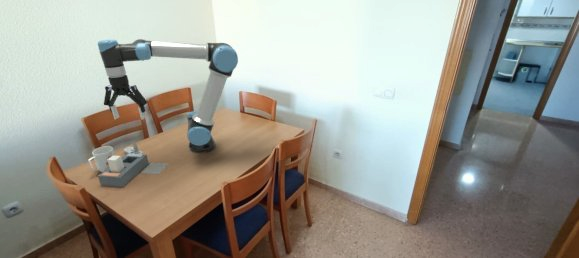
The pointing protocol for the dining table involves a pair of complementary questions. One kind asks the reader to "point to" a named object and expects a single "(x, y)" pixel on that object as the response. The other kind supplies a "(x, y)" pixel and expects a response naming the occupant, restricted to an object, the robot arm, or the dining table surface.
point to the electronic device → (133, 149)
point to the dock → (124, 171)
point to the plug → (115, 164)
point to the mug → (101, 157)
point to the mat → (154, 168)
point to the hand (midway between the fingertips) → (130, 118)
